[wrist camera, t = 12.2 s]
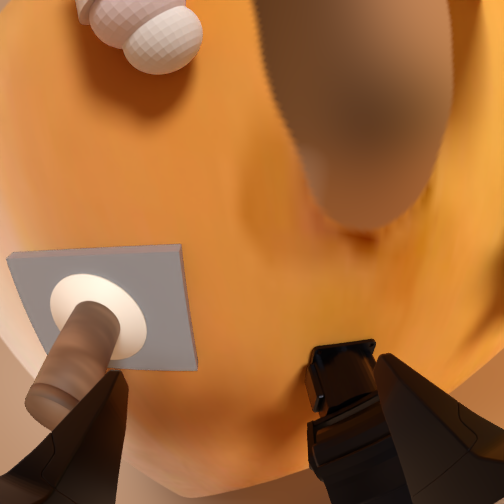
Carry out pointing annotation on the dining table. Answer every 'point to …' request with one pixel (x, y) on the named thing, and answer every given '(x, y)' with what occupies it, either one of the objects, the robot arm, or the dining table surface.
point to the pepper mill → (73, 363)
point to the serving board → (113, 299)
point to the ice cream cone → (145, 31)
